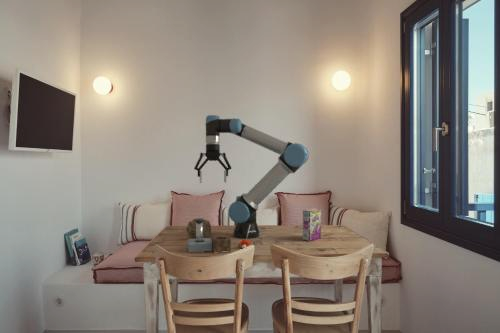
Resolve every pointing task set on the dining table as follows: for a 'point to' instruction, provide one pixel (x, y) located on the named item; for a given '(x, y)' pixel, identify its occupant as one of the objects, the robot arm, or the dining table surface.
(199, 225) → the lock pin
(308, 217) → the candy bar box
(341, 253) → the dining table surface
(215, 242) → the mount
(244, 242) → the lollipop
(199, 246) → the dock
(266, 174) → the robot arm
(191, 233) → the rock
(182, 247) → the dining table surface
